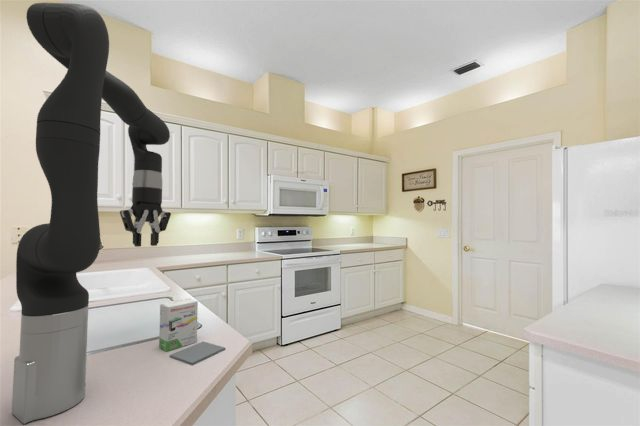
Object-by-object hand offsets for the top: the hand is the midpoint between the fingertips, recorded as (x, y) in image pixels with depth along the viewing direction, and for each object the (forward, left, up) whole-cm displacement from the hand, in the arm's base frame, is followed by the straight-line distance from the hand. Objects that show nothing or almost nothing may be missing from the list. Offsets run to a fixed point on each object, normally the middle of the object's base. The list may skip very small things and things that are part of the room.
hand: (146, 245), depth 84 cm
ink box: (+4, -11, -27) cm, 30 cm away
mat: (+3, -21, -27) cm, 34 cm away
